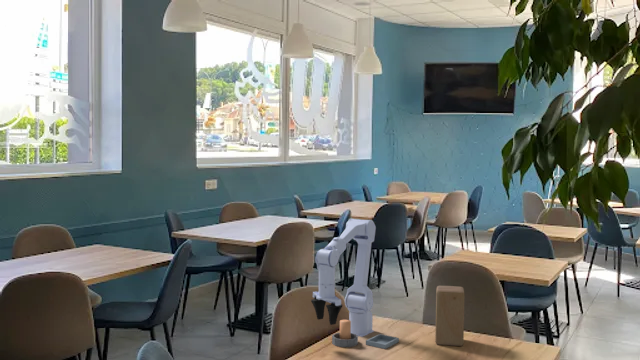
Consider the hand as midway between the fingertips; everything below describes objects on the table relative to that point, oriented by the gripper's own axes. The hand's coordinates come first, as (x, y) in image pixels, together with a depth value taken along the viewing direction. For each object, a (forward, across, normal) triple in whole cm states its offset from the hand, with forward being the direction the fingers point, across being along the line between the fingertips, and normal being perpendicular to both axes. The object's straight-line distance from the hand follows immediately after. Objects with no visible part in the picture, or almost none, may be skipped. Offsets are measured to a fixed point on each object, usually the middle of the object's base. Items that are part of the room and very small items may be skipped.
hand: (326, 321), depth 216 cm
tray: (+10, +7, +20) cm, 24 cm away
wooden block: (+10, +18, +43) cm, 48 cm away
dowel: (+10, -1, +9) cm, 13 cm away
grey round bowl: (+10, -1, +9) cm, 14 cm away
